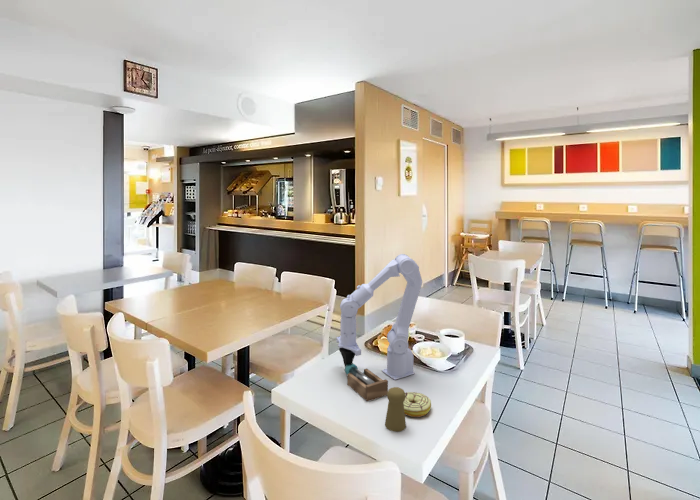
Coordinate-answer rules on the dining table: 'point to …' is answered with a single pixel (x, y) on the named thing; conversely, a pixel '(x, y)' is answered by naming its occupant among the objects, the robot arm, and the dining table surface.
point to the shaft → (357, 373)
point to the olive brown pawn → (395, 410)
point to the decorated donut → (416, 404)
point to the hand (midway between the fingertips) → (348, 367)
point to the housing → (368, 386)
